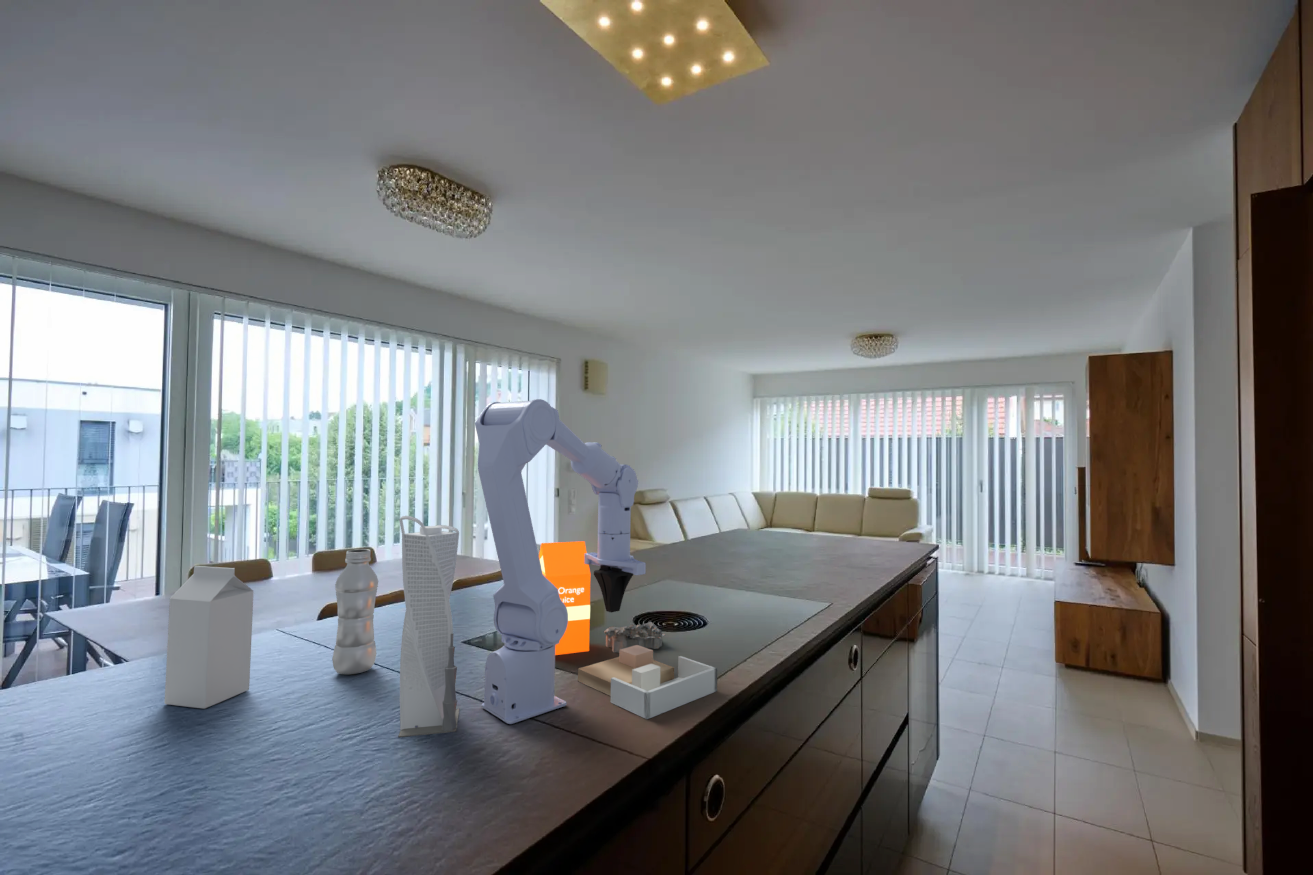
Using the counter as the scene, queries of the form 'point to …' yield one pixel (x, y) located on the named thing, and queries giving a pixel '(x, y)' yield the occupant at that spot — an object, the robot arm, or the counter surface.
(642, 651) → the terracotta tile
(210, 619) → the milk carton
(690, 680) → the tray
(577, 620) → the orange juice
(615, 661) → the flat wooden plank
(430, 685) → the skyscraper
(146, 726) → the counter surface
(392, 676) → the counter surface
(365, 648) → the plastic bottle
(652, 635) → the egg carton
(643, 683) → the cream tile
